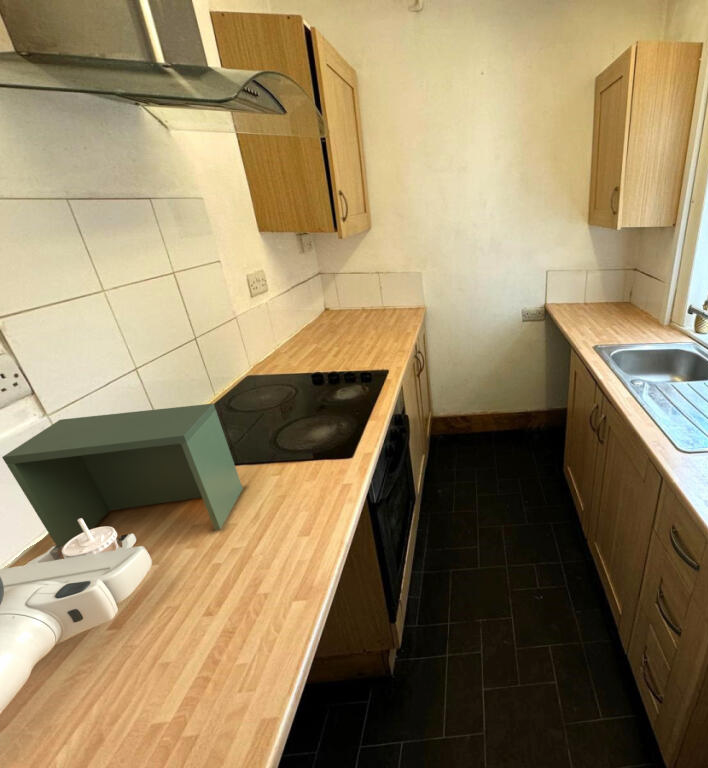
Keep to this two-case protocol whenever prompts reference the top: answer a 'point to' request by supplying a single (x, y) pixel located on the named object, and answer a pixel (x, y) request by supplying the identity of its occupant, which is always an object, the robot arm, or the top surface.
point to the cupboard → (125, 466)
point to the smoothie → (91, 541)
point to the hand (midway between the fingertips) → (96, 542)
